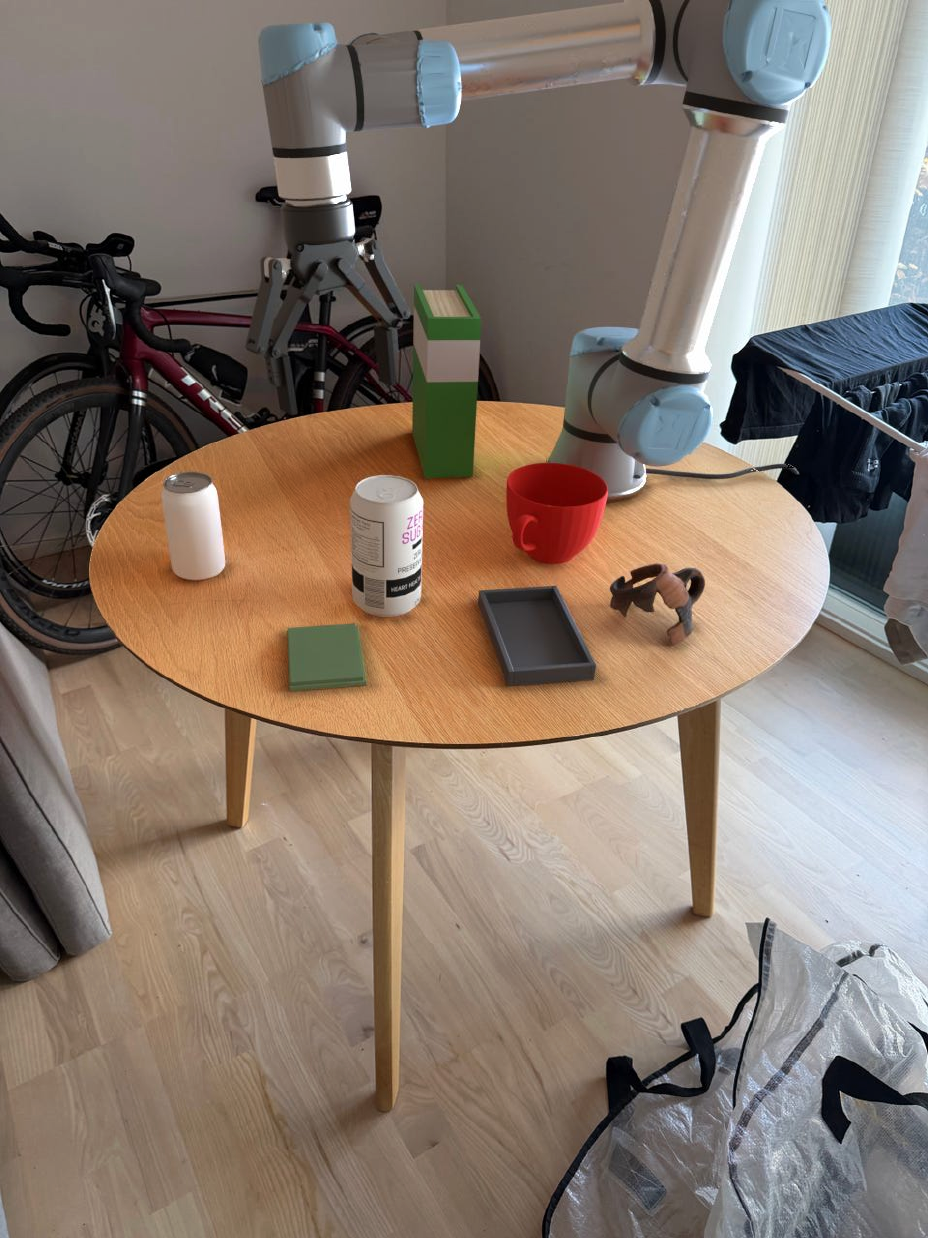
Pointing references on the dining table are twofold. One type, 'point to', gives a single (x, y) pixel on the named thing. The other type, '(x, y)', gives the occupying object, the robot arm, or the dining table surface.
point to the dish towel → (325, 657)
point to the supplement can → (386, 545)
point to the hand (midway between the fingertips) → (339, 397)
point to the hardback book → (445, 381)
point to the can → (193, 526)
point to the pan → (535, 636)
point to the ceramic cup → (554, 510)
